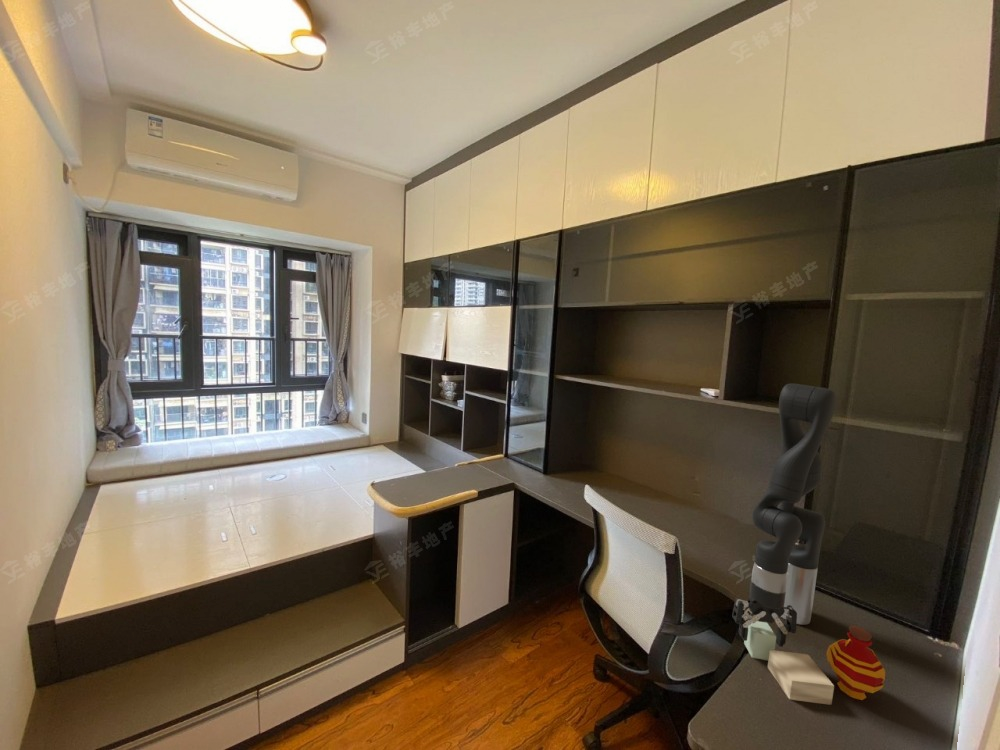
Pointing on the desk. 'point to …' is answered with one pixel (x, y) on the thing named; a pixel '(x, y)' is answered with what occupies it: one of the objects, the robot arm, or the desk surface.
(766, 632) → the green block
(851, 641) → the potion bottle
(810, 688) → the beech base
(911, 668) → the desk surface
